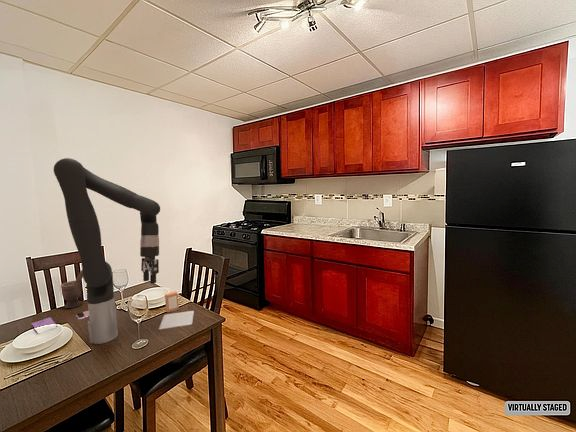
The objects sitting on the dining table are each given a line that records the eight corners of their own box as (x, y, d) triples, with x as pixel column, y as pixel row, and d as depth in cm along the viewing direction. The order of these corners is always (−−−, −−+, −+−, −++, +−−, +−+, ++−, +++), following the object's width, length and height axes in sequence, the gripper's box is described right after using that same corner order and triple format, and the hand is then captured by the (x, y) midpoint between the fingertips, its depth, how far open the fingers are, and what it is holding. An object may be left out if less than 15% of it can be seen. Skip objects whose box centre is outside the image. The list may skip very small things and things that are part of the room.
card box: (166, 311, 138) (164, 294, 137) (177, 307, 142) (175, 291, 141) (167, 312, 136) (166, 295, 135) (178, 309, 140) (177, 292, 139)
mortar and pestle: (88, 299, 155) (84, 266, 152) (92, 303, 149) (87, 269, 147) (62, 306, 146) (58, 271, 144) (65, 311, 141) (60, 274, 138)
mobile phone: (75, 313, 137) (109, 303, 148) (75, 315, 137) (109, 305, 148) (78, 318, 131) (113, 307, 142) (78, 320, 132) (114, 309, 143)
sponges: (50, 320, 132) (50, 317, 132) (57, 328, 125) (57, 324, 124) (31, 326, 127) (31, 323, 127) (37, 335, 119) (36, 331, 119)
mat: (158, 329, 120) (158, 329, 120) (164, 315, 133) (164, 314, 133) (191, 324, 124) (191, 324, 124) (194, 311, 137) (194, 310, 137)
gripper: (135, 245, 122) (135, 281, 121) (146, 246, 113) (146, 285, 112) (152, 244, 128) (152, 279, 127) (164, 245, 118) (164, 282, 117)
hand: (149, 282), depth 119 cm, fingers open, 8 cm apart
